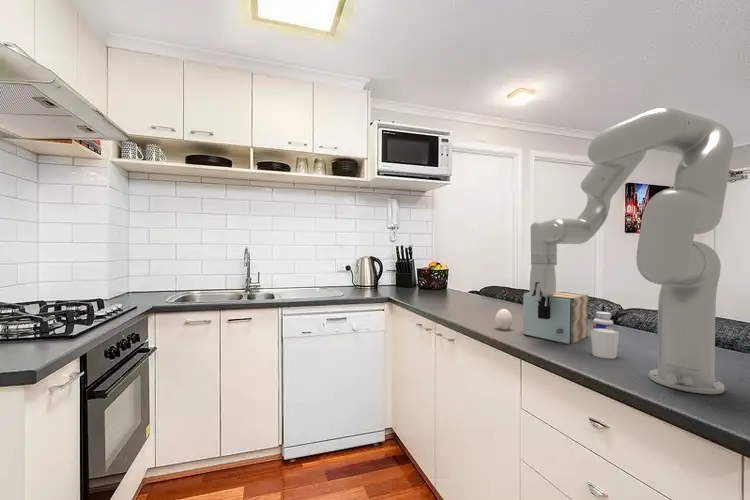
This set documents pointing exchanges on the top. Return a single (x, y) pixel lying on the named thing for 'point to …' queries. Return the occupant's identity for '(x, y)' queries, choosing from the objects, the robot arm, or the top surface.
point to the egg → (504, 319)
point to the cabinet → (576, 314)
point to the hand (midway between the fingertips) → (544, 318)
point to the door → (547, 328)
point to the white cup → (604, 342)
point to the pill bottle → (603, 321)
